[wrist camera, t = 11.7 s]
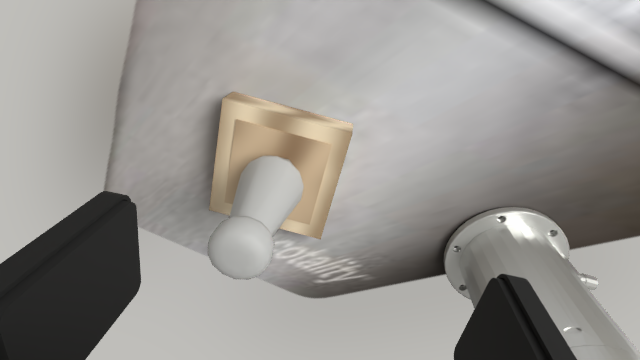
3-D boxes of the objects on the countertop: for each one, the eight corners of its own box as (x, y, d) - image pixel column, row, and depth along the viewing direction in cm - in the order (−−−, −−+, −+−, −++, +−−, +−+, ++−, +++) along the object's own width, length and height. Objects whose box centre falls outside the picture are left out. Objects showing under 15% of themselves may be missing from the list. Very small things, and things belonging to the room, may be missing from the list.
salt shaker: (284, 211, 36) (248, 308, 24) (236, 179, 35) (175, 264, 23) (318, 171, 34) (297, 257, 22) (269, 134, 33) (219, 205, 21)
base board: (352, 124, 35) (352, 134, 32) (322, 223, 40) (320, 240, 37) (233, 91, 34) (221, 99, 32) (219, 196, 40) (208, 210, 37)
